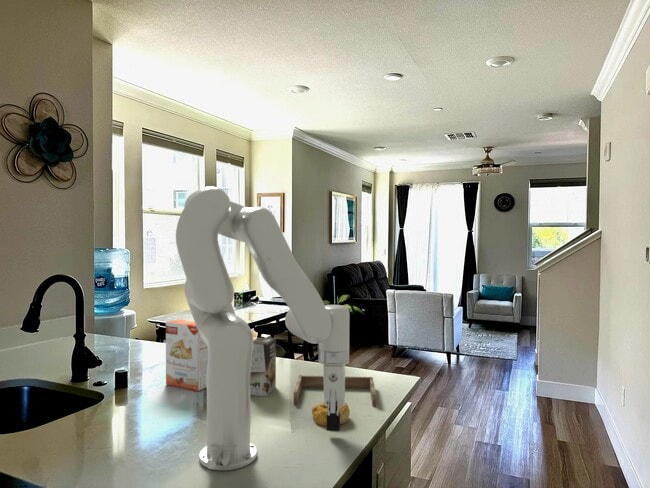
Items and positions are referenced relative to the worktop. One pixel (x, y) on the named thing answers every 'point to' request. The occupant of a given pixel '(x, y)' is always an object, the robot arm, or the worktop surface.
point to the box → (349, 383)
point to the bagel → (321, 413)
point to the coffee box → (263, 367)
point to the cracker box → (185, 356)
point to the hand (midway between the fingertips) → (333, 429)
